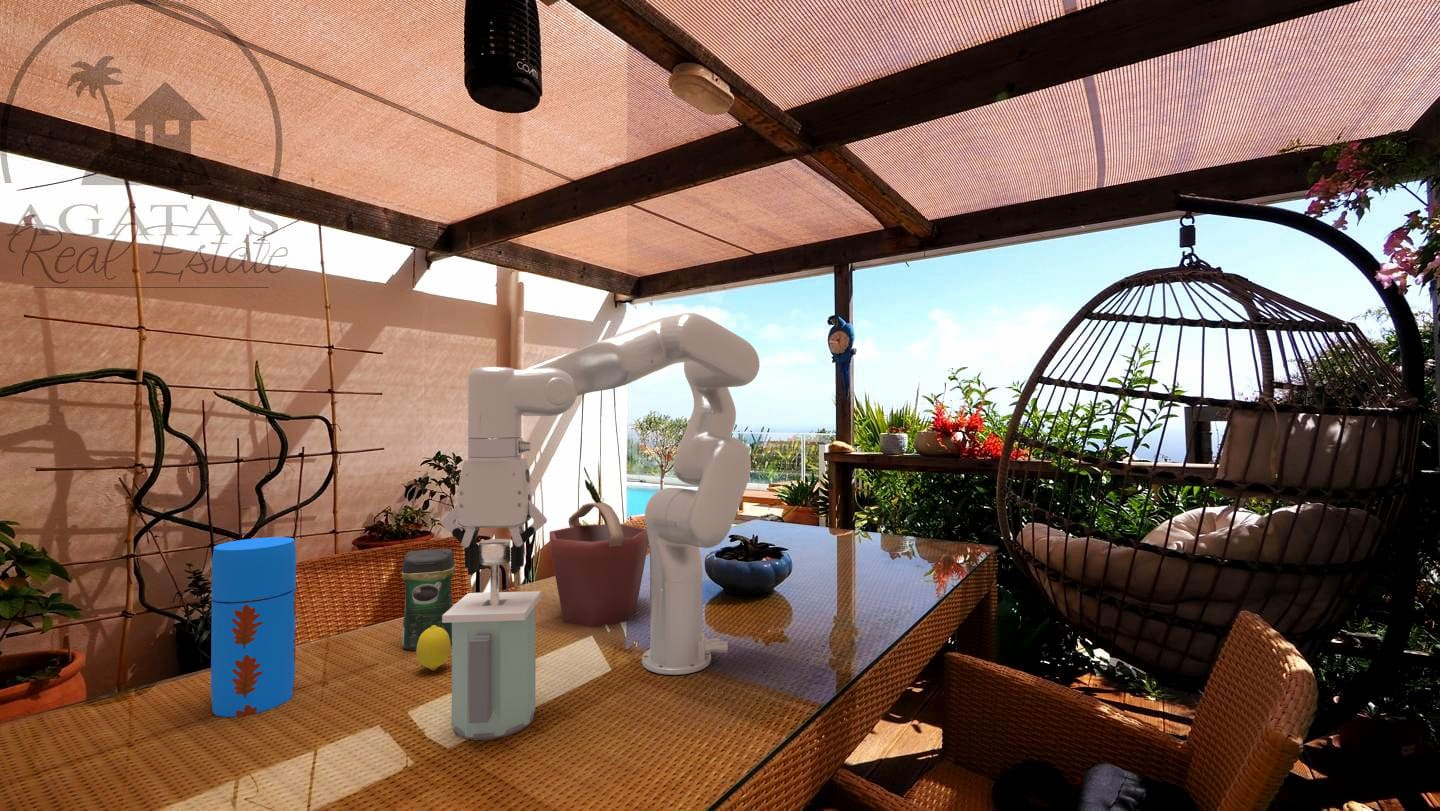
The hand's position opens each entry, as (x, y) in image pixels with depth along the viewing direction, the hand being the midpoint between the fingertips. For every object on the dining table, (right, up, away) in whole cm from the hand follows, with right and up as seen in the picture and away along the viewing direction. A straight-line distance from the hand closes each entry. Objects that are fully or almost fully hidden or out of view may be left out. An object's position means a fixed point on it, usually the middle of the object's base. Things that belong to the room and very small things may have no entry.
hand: (494, 571), depth 94 cm
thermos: (-41, -23, +7) cm, 47 cm away
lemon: (-17, -23, +18) cm, 34 cm away
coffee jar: (-24, -23, +32) cm, 46 cm away
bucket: (+6, -23, +50) cm, 56 cm away
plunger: (0, -20, 0) cm, 20 cm away
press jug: (0, -22, -2) cm, 22 cm away
